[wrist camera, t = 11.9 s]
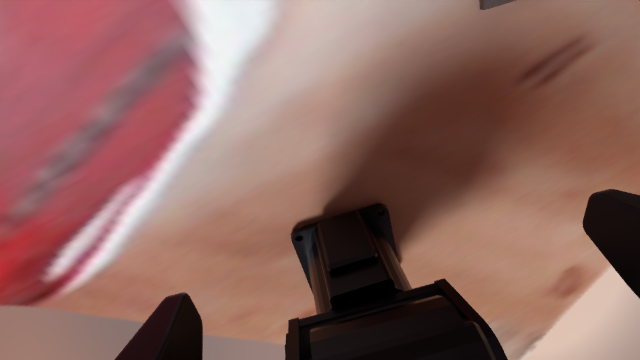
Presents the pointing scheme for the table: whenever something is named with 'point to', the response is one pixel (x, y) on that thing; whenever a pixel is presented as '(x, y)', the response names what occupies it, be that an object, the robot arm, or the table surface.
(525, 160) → the table surface
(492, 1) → the collar plate
